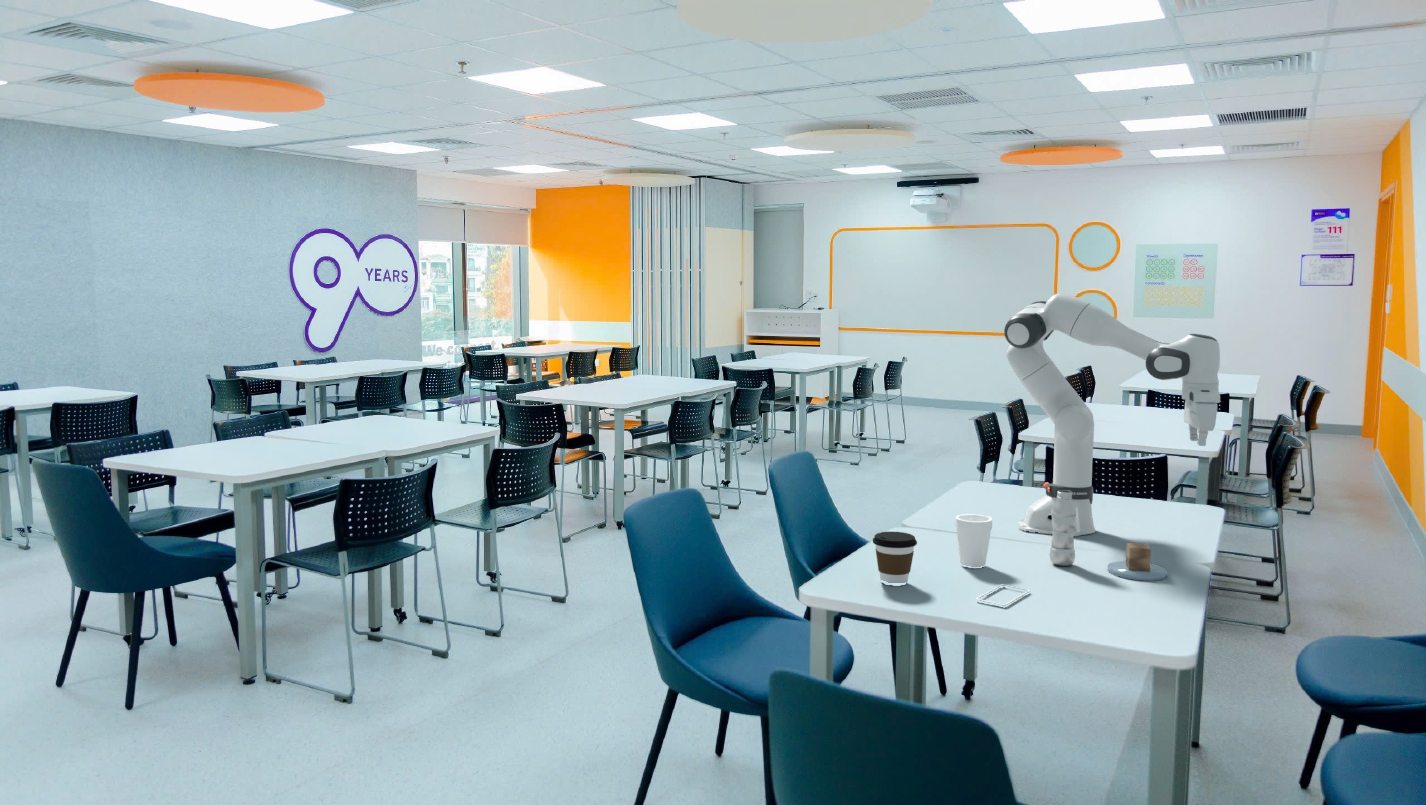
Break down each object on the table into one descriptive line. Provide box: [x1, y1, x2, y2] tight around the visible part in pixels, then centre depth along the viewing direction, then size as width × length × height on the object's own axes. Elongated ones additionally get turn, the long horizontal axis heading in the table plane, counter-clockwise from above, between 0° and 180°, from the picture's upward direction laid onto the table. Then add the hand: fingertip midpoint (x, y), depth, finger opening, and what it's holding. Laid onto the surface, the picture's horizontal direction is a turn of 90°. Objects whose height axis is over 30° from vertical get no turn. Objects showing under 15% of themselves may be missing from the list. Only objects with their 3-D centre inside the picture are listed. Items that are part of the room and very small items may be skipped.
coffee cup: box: [872, 531, 918, 583], centre depth 232 cm, size 11×11×12 cm
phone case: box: [975, 584, 1031, 606], centre depth 221 cm, size 7×1×15 cm
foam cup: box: [955, 513, 993, 567], centre depth 247 cm, size 10×9×13 cm
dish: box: [1107, 560, 1168, 582], centre depth 240 cm, size 14×14×1 cm
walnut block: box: [1125, 542, 1152, 572], centre depth 240 cm, size 5×5×6 cm
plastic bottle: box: [1048, 490, 1077, 567], centre depth 247 cm, size 6×7×20 cm
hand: (1197, 443), depth 256 cm, fingers open, 8 cm apart
